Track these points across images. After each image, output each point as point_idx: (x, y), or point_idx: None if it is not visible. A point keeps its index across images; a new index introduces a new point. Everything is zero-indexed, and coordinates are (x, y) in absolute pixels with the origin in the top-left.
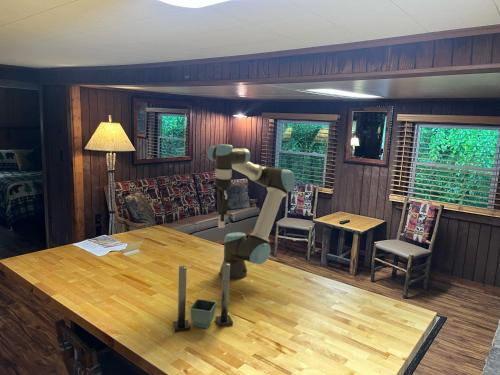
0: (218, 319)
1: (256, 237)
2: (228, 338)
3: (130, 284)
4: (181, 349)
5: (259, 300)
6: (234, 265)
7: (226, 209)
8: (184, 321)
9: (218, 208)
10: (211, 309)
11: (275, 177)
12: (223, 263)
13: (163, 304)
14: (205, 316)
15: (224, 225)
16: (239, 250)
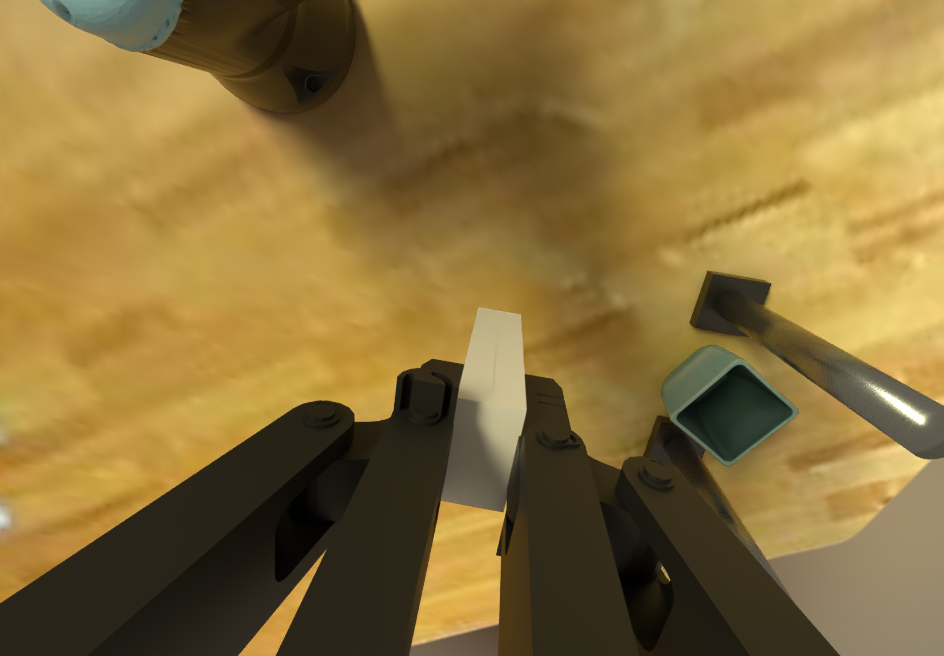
0: (722, 326)
1: None
2: (833, 333)
3: None
4: (790, 478)
5: (638, 49)
6: (306, 34)
7: (760, 586)
8: (695, 450)
9: (325, 546)
10: (786, 402)
11: None
12: (912, 449)
13: None
14: (767, 412)
15: (521, 326)
16: None
